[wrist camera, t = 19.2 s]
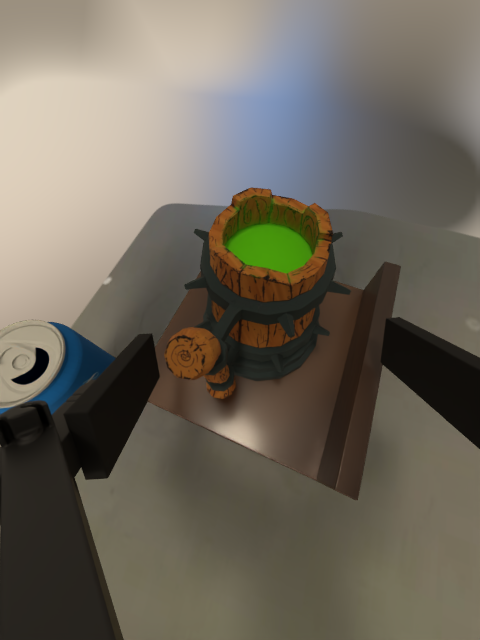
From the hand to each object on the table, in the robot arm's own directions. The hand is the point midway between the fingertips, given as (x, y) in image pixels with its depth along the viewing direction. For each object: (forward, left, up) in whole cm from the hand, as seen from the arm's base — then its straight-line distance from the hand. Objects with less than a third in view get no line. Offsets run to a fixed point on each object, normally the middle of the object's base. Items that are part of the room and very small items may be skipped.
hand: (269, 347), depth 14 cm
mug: (-2, +2, -6) cm, 7 cm away
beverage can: (-14, -6, -13) cm, 20 cm away
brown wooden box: (-1, +3, -13) cm, 13 cm away
